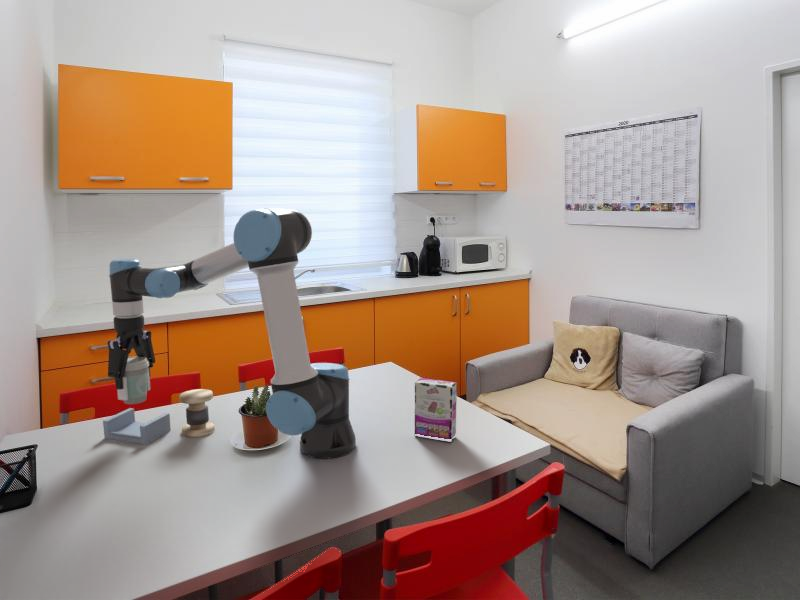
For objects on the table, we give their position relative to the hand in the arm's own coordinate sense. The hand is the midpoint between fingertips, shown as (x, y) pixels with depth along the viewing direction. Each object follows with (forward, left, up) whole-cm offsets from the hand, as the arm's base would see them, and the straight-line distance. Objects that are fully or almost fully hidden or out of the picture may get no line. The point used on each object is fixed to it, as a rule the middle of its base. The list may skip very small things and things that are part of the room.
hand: (134, 394), depth 154 cm
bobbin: (-15, -7, -12) cm, 20 cm away
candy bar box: (-82, -24, -12) cm, 86 cm away
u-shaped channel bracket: (0, 0, -12) cm, 12 cm away
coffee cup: (0, 0, -2) cm, 2 cm away
